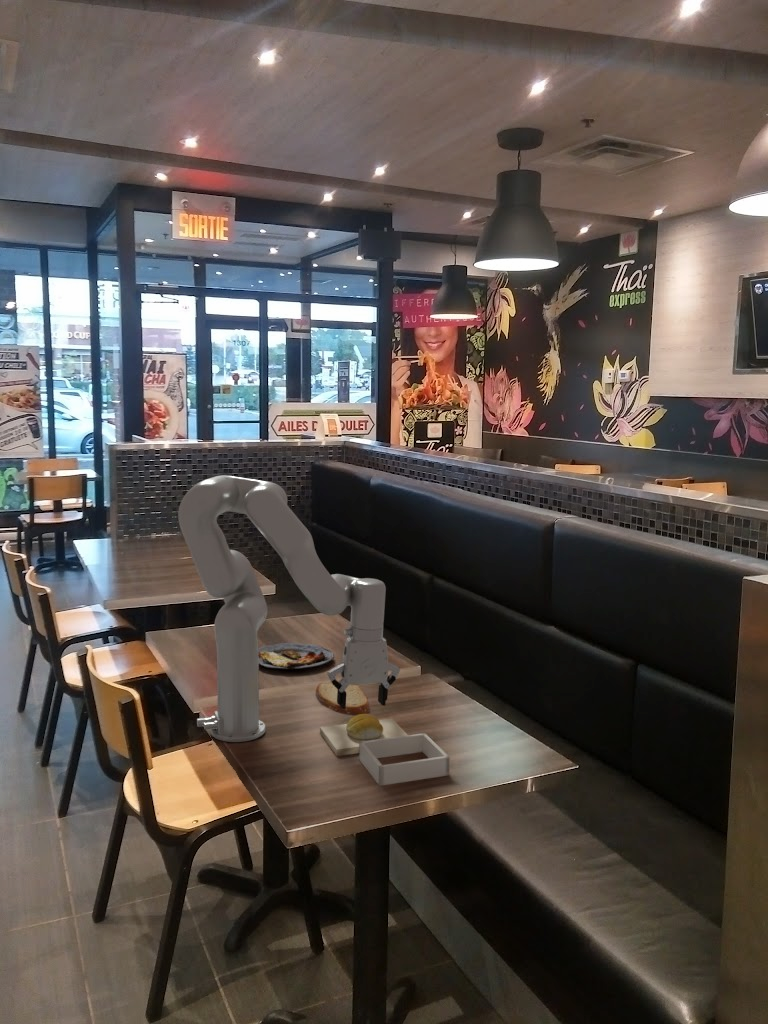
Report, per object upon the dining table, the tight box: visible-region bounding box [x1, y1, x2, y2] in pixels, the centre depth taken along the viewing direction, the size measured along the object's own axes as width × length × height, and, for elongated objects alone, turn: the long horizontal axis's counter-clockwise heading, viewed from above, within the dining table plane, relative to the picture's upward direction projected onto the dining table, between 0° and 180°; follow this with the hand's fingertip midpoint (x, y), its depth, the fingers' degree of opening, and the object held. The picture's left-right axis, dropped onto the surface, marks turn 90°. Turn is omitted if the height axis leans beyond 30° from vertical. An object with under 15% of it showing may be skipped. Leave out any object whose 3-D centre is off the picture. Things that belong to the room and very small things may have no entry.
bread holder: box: [358, 732, 451, 787], centre depth 178 cm, size 16×13×4 cm
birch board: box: [319, 718, 408, 757], centre depth 191 cm, size 18×13×2 cm
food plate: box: [258, 642, 335, 670], centre depth 246 cm, size 25×23×4 cm
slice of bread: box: [315, 679, 371, 715], centre depth 216 cm, size 18×18×4 cm
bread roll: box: [346, 713, 383, 740], centre depth 191 cm, size 8×9×4 cm
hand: (361, 705), depth 190 cm, fingers open, 9 cm apart
